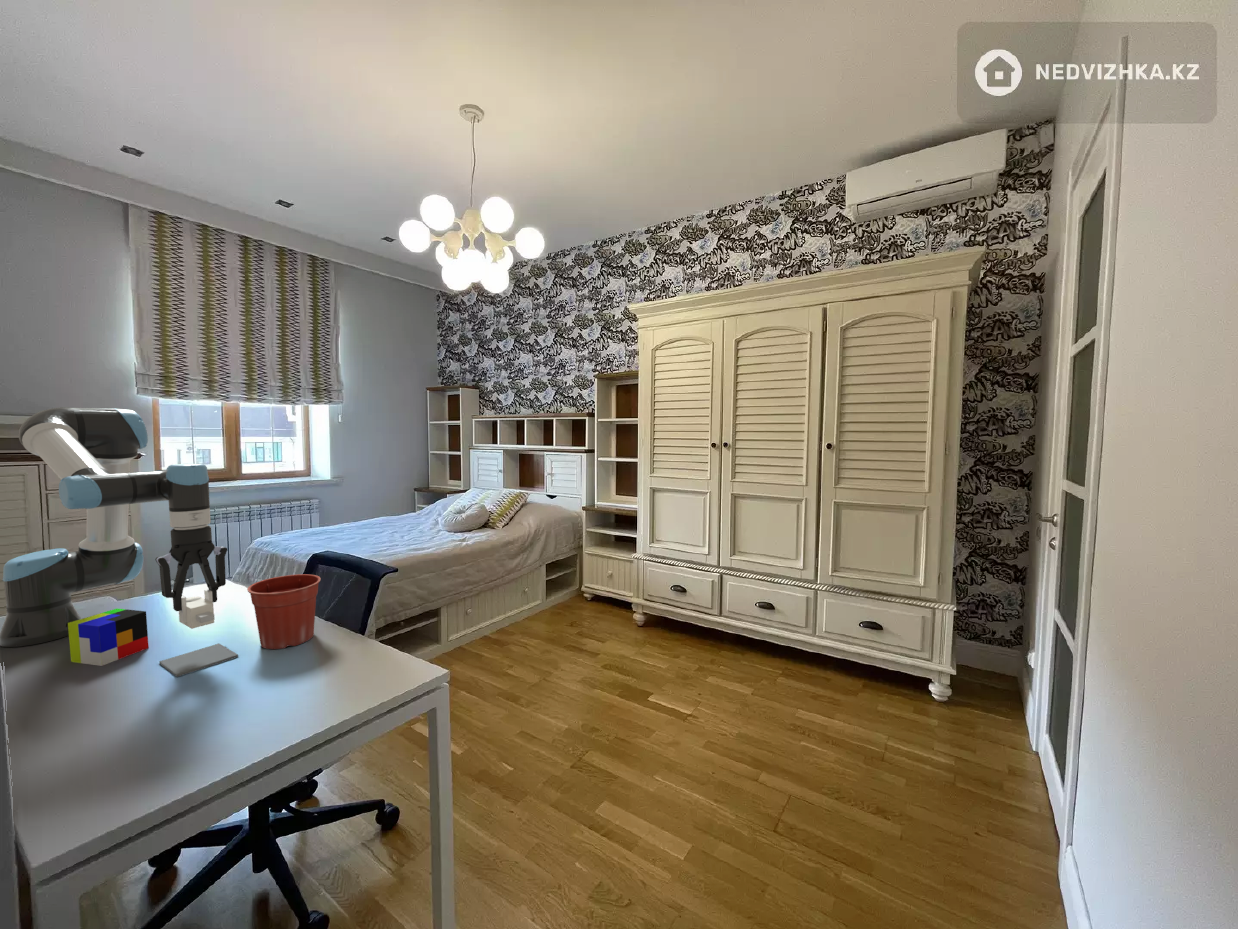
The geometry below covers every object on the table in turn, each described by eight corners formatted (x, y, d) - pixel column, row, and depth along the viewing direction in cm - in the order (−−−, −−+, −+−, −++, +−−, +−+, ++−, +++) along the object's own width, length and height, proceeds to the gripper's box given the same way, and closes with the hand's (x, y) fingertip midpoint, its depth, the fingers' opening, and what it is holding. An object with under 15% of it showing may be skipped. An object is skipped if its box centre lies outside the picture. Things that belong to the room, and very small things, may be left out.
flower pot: (326, 643, 132) (323, 585, 131) (250, 660, 122) (247, 597, 121) (319, 623, 145) (317, 570, 144) (250, 637, 135) (247, 581, 134)
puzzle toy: (101, 666, 119) (98, 626, 118) (71, 662, 121) (67, 623, 120) (148, 648, 129) (146, 611, 128) (119, 644, 131) (116, 608, 130)
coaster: (159, 663, 120) (159, 661, 120) (219, 645, 130) (219, 643, 130) (177, 677, 114) (176, 674, 114) (238, 656, 124) (238, 654, 124)
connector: (176, 620, 123) (175, 600, 122) (198, 614, 126) (197, 595, 126) (196, 631, 115) (195, 611, 115) (219, 625, 119) (218, 605, 119)
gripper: (148, 535, 110) (155, 635, 112) (240, 522, 125) (244, 611, 126) (137, 531, 114) (144, 627, 116) (227, 519, 129) (232, 605, 130)
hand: (196, 618), depth 121 cm, fingers closed on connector, 4 cm apart
